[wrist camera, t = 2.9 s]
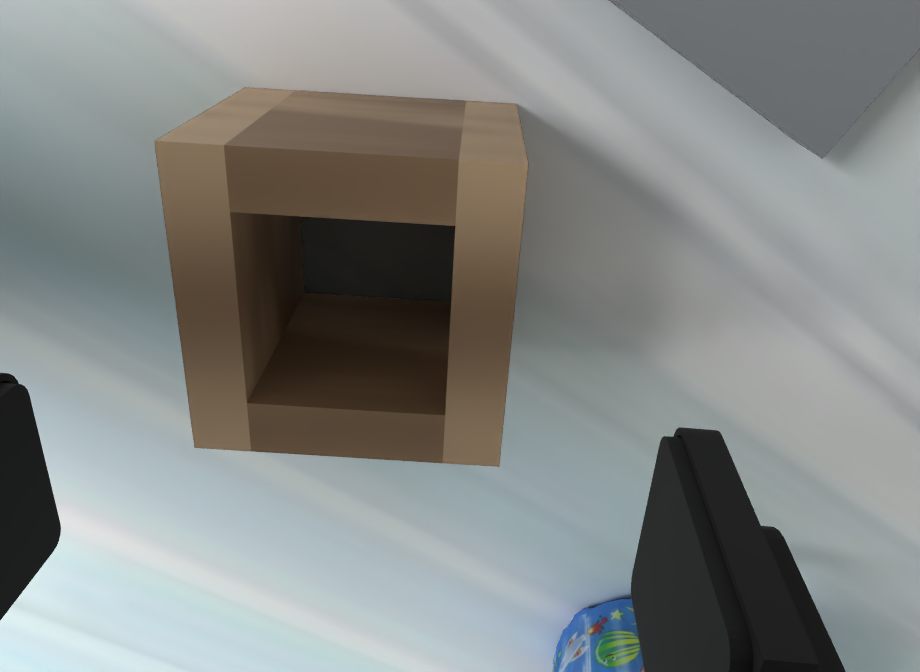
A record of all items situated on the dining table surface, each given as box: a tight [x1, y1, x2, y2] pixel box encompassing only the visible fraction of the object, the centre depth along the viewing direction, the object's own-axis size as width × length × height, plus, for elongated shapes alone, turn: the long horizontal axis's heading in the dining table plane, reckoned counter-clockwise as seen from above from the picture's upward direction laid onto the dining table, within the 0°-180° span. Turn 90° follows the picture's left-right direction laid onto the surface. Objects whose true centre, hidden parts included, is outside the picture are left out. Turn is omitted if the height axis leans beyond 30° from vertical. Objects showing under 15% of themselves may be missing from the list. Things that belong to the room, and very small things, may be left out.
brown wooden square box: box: [154, 87, 528, 467], centre depth 18 cm, size 7×7×6 cm
